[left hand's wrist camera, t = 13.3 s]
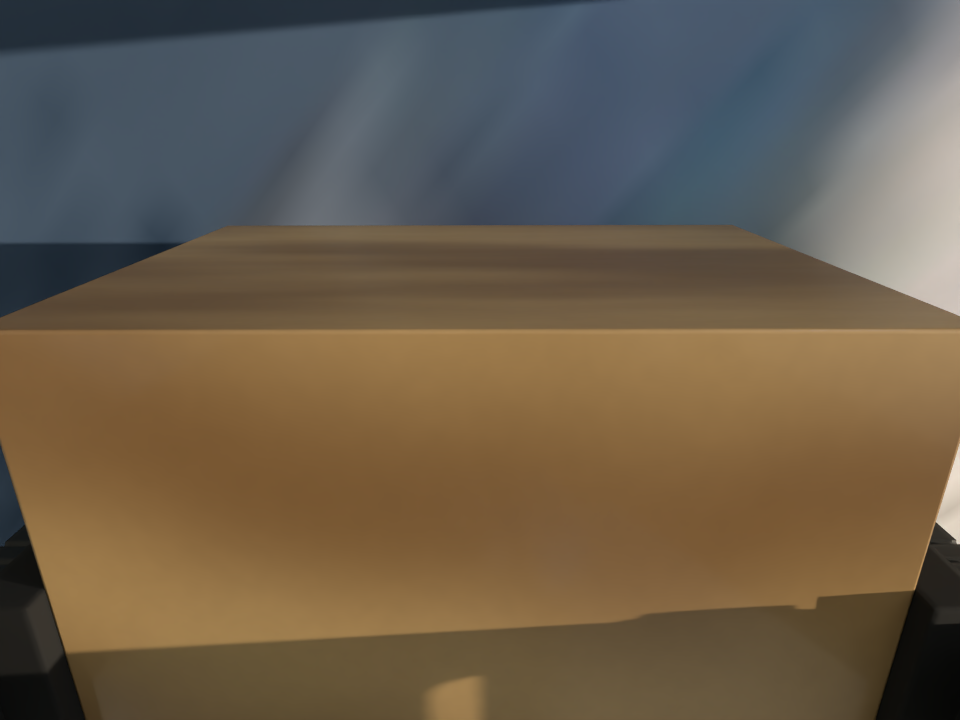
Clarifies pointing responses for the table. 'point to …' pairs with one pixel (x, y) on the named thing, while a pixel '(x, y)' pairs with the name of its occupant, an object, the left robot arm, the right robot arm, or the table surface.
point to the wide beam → (480, 474)
